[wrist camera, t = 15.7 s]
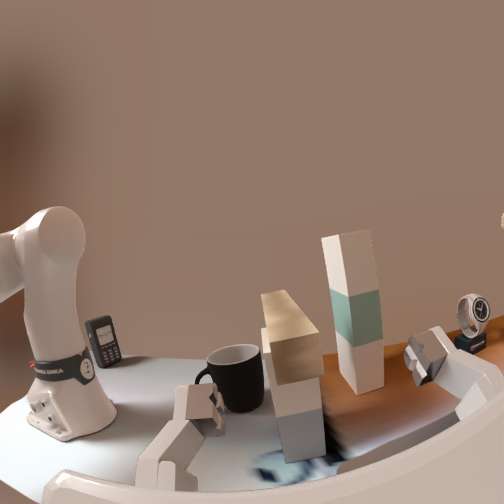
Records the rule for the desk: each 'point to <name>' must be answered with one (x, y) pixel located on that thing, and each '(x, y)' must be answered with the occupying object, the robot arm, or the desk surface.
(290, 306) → the batten
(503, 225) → the flower in vase
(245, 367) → the mug
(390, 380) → the desk surface
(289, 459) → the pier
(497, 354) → the desk surface
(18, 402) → the desk surface
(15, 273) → the robot arm
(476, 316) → the watch
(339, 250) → the tower
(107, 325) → the card reader
